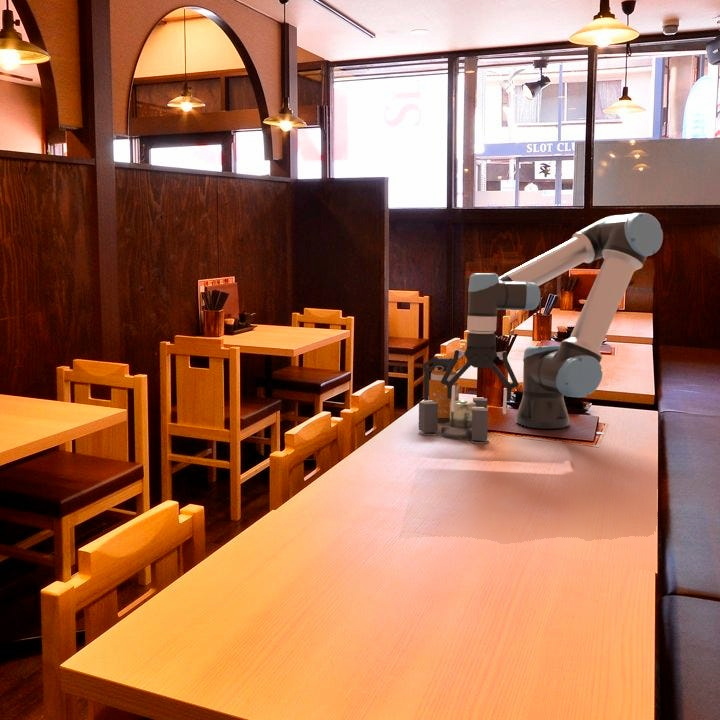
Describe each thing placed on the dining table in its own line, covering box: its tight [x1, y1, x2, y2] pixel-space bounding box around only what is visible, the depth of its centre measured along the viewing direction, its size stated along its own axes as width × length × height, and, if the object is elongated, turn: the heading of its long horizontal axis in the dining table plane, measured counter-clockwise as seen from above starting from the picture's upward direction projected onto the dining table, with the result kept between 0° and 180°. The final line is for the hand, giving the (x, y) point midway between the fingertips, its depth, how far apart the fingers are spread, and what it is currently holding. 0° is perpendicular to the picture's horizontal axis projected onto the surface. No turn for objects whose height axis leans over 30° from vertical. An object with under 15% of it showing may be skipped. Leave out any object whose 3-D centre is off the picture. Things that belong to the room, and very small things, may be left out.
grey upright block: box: [418, 400, 439, 433], centre depth 216 cm, size 4×4×8 cm
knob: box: [472, 396, 488, 408], centre depth 222 cm, size 4×4×8 cm
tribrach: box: [418, 399, 490, 445], centre depth 215 cm, size 19×22×10 cm
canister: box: [421, 356, 460, 425], centre depth 230 cm, size 9×11×20 cm
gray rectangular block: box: [472, 407, 489, 441], centre depth 205 cm, size 4×4×8 cm
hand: (478, 412), depth 205 cm, fingers open, 13 cm apart
